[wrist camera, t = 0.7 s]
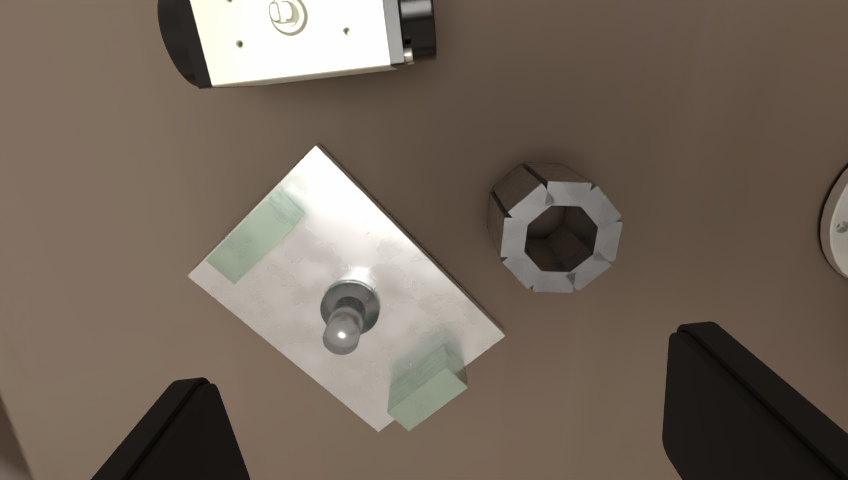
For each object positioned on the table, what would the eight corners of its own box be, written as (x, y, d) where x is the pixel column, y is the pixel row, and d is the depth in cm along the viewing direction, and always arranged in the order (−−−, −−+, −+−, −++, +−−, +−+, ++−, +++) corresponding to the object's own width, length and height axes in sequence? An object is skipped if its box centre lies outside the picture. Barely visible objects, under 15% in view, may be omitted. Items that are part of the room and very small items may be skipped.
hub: (603, 213, 32) (642, 242, 26) (528, 273, 34) (549, 312, 28) (545, 142, 30) (573, 156, 25) (468, 208, 32) (478, 236, 26)
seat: (503, 328, 35) (516, 371, 30) (379, 423, 38) (372, 476, 33) (318, 143, 30) (297, 157, 25) (194, 270, 33) (152, 305, 28)
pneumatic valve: (433, 67, 28) (440, 59, 17) (256, 87, 29) (150, 93, 18) (424, -31, 27) (425, -111, 15) (235, -7, 27) (100, -68, 16)
